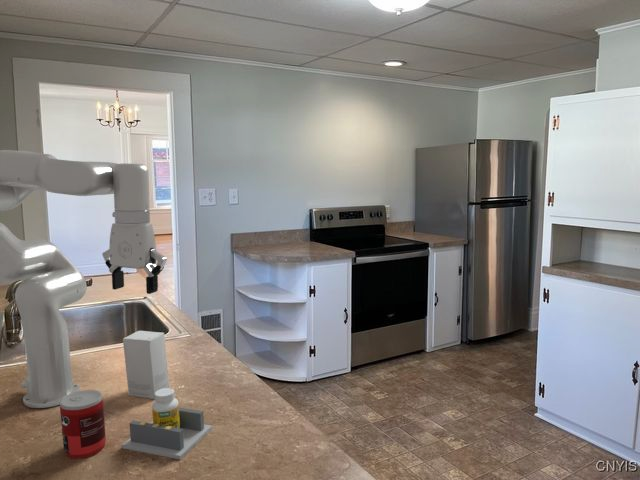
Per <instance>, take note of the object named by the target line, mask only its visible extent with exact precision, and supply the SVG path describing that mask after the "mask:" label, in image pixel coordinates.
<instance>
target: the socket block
mask: <svg viewBox="0 0 640 480" xmlns="http://www.w3.org/2000/svg"><path fill="white" fill-rule="evenodd" d="M204 417H205V416H204V411H203V410H197V409H191V408H185V407H180V406H179V419H180V429H179V428H174V427H171V426H162V425H159V424H153V420H151V421H150V422H147V421H138V420H132V421H130V422H129V424H128V425H129V434H130V435H129V436H130V437H129V438H128V439H127V440H126V441H124V442H123V443H122V444H121V449H124V450H130V451H134V452H138V453H139V452H140V453H145V454H150V455H155V456H160V457H166V458H170V459H174V460H180V461H181V460H182V459H183V458H184V457H185V456H186V455H187V454H188V453H189V452H190V451H191V450H192V449H193V448H194V447H196V445H197V444H199V442H201V440H203V439H204V438H205V436H207V434H209V432H211V431H212V430H213V425H211V424H210V425H209V424H205V419H204Z"/></svg>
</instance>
